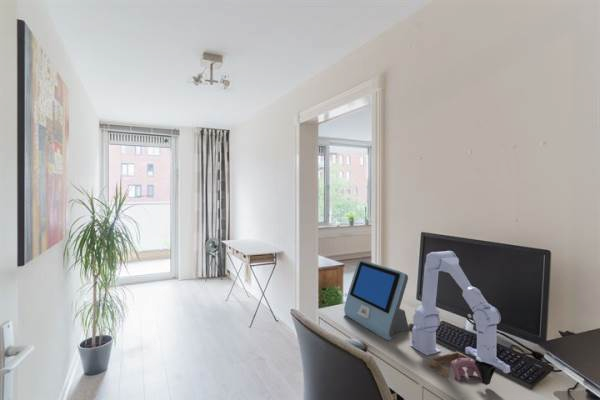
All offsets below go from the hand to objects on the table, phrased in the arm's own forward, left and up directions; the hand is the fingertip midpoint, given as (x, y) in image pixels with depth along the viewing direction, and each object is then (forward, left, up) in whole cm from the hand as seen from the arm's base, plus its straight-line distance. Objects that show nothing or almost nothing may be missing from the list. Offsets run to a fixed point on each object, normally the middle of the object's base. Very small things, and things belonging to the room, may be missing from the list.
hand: (486, 383), depth 107 cm
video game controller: (-7, 0, -2) cm, 7 cm away
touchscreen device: (-58, 0, -2) cm, 58 cm away
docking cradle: (-13, 0, -1) cm, 13 cm away
